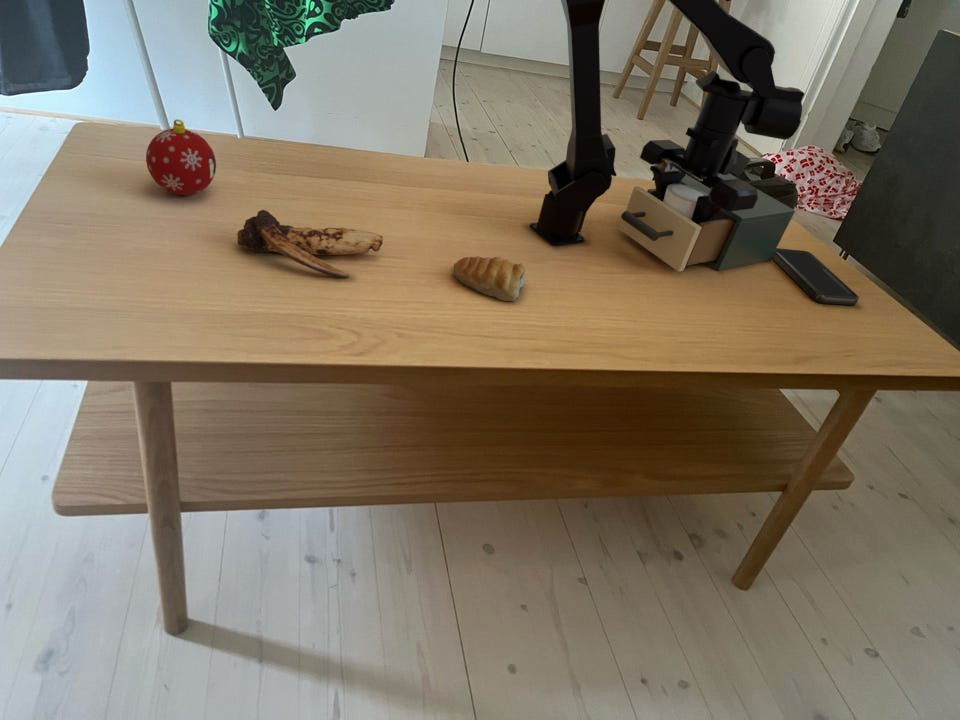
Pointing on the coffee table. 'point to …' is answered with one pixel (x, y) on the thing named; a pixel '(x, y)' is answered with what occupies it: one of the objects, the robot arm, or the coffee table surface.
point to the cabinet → (750, 229)
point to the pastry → (491, 276)
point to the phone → (814, 277)
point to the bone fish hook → (305, 241)
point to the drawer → (674, 231)
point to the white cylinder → (682, 198)
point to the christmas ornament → (180, 160)
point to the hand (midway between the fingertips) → (676, 225)
